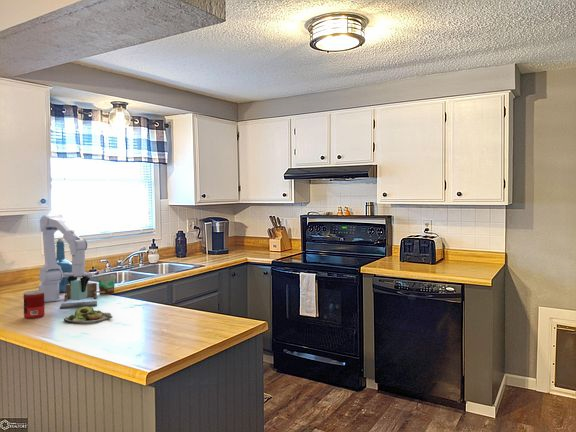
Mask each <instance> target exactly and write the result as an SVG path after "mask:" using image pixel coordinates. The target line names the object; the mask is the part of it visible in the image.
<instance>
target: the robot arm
mask: <svg viewBox="0 0 576 432" xmlns="http://www.w3.org/2000/svg"><path fill="white" fill-rule="evenodd" d="M65 220H66V218H65V217H64V216H63V214H54V215H52V214H51V215H50V214H49V215H46V214H44V215H42V216H41V217H40V219H39V224H40V225H39V228H40V229H39V230H40V232H41V233H42V241H43V251H44V252H43V253H44V255H43V256H44V265H43V266H42V267H41V268H39V276H38V278H39V279H38V280H39V282H40V283H39V284H38V290H42V291H44V303H45V302H46V303H47V302H57V301H58V302H59V301H60V300H61V296H60V293H59V282H60V281H61V280H62V278H63V277H69V278H67V280H68V282H69V283H70V285H71V281H73V280H77V279H78V278H79V279H80V280H81V290H82V292H85V290H86V286H87V283H89V281H90V278H94V277H95V272H86V251H87V249H88V241H87V239H85V238H81V237H80V236H79V235H78V233H76V231H75V230H73V229H70V228H69V226H68V225H67V223H65V222H66V221H65ZM58 231H59V232H60V233H61V234H63V236H62V237H63V238H62V239H63V240H64V241H65V242H66V243H67V244H68V248H69V250H70V256H71V262H72V273H62V270H61V266H59V265H58V264H56V245H55V243H56V242H55V233H56V232H58ZM50 269H54V270H50ZM48 270H49V271H48Z"/></svg>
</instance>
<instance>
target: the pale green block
mask: <svg viewBox="0 0 576 432" xmlns="http://www.w3.org/2000/svg"><path fill="white" fill-rule="evenodd" d="M86 298H88V297H87V286H86V290H85V292H82V290H81V280H80V278H77V280H73V281H71V298H70V300H71V301H79V300H83V299H86Z"/></svg>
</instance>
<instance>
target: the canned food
mask: <svg viewBox="0 0 576 432" xmlns="http://www.w3.org/2000/svg"><path fill="white" fill-rule="evenodd" d="M23 316H24V319H26V320H33V319H39V318H43V317H44V316H45V302H44V291H42V290H39V289H38V290H29V291H25V292H23Z"/></svg>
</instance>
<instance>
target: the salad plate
mask: <svg viewBox="0 0 576 432" xmlns="http://www.w3.org/2000/svg"><path fill="white" fill-rule="evenodd" d="M111 318H113V316H112V313H111V312H104V311H101V310H98V309H97V310H94V307H93V306H92V307H90V306H84V307H78V308H77V309H75V311H74V314H71V315H69V316H64V317H63V321H64V322H65V323H67V324H74V325H75V324H76V325H77V324H78V325H79V324H80V325H88V324H96V323H97V324H98V323H101V322H103V321H104V322H105V321H106V320H109V319H111Z"/></svg>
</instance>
